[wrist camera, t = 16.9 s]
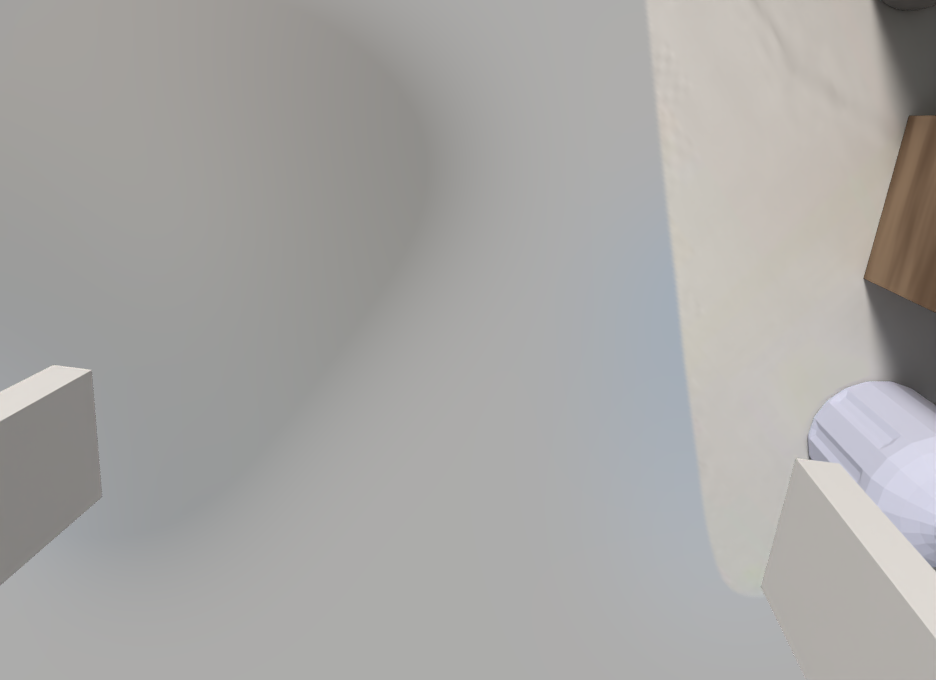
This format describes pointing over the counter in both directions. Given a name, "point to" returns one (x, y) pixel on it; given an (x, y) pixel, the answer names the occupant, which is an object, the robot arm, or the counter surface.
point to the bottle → (910, 4)
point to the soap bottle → (885, 453)
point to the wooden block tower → (909, 220)
